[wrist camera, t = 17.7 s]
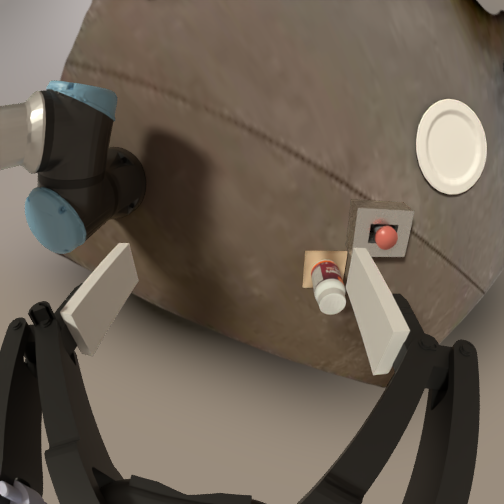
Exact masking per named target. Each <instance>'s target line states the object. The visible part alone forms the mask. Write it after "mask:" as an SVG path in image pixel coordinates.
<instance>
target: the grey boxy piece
mask: <svg viewBox="0 0 504 504" xmlns="http://www.w3.org/2000/svg"><path fill="white" fill-rule="evenodd" d="M413 215H414V211H413V210H412V209H411V208H410V207H409V206H408V205H406V204H405V203H404V202H392V201H376V200H358V199H351V202H350V212H349V221H348V229H347V237H346V247H347V249H348V251H349V253H350V255H351V257H352V254H353V248H366V249H367V251H368V252H369V254H370V256H371V257H404V256H405V252H406V248H407V244H408V239H409V235H410V230H411V225H412V220H413ZM371 224H387V225H388V226H391V227H392V228H393V229H394V230H395V231H396V232H397V235H398V239H397V242H396V244H395V245H394V246H393V247H392V248H390V249H388V250H383V249H381V248H379V247H378V245H377V244H376V242H375V234H376V233H375V232H370V226H371Z"/></svg>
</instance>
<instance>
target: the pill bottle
mask: <svg viewBox="0 0 504 504" xmlns="http://www.w3.org/2000/svg"><path fill="white" fill-rule="evenodd" d="M311 278H312V283H313V289H314V295H315V298H316V300H317V302H318V304H319V308H320V310H321V311H322V312H323V313H325V314H336V313H338V312H340V311H342V310H343V309H344V307H345V305H346V299H345V286H344V283H343V280H342V277H341V274H340V271H339V268H338V266H337V264H336V263H335V262H333V261H331V260H327V259H325V260H321V261H318V262H317V263H315V264H314V266H313V267H312V269H311Z"/></svg>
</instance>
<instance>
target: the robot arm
mask: <svg viewBox="0 0 504 504" xmlns="http://www.w3.org/2000/svg"><path fill="white" fill-rule="evenodd" d="M116 105H117V96H116V94H115V93H114V92H113V91H111V90H108V89H104V88H100V87H95V86H90V85H85V84H78V83H71V82H64V81H51V82H50V83H49V85H48V86H47V91H36V92H34V93H33V94H32V95H31V96H30V97H29V99H28V100H27V101H26V102H24V103H20V104H12V105H5V106H0V170H3V169H7V168H11V167H15V166H19V165H21V166H23V167H24V168H25V169H26V170H27V171H28V172H29V173H31V174H33V173H38V187H37V188H35V189H33V190H32V191H31V193H30V194H29V196H28V197H27V199H26V202H25V215H26V219H27V222H28V225H29V227H30V229H31V231H32V233H33V234H34V236H35V237H36V238H37V240H38V241H39V242H40V243H41V244H42V245H43V246H44V247H46V248H47V249H49V250H50V251H53V252H55V253H60V254H65V253H69V252H71V251H72V250H74V249H75V248H76V247H78V246H80V245H82V244H83V243H84V242H85V241H86V240H87V239H88V238H89V237H90V236H91V235H92V234H93V233H94V232H95V231H97V230H98V229H99V228H100V227H101V226H102V225H103V224H105V223H106V222H107V221H108V220H110V219H116V218H121V217H124V216H126V215H128V214H130V213H131V212H132V211H133V210H135V209H136V208H137V207H138V206H139V204H140V203H141V201H142V199H143V197H144V194H145V189H146V179H145V174H144V170H143V168H142V166H141V164H140V162H139V161H138V159H137V158H136V157H135V156H134V155H133V154H132V153H130V152H129V151H127V150H125V149H123V148H119V147H110V148H109V142H110V136H111V131H112V126H113V121H115V117H114V116H115V110H116ZM137 282H138V277H137V273H136V269H135V265H134V261H133V257H132V253H131V249H130V244H129V243H119V244H118V245H117V246H116V247H115V248H114V249H113V250H112V251H111V252H110V253H109V254H108V255H107V257H106V258H105V259H104V260H103V261H102V262H101V263H100V264H99V266H98V267H97V268H96V269H95V270H94V271H93V272H92V274H91V275H90V276H89V277H88V278H87V279H86V281H85V282H84V283H81V284H80V285H79V286H77V287H76V288H74V290H73V291H72V292H71V293H70V295H69V296H68V297H67V298H66V300H65V301H64V302H63V303H62V304H61V306H60V307H59V308H58V309H57V311H56V312H55V313H53V311H52V309H51V307H50V304H49V303H48V302H46V301H42V302H38V303H37V304H35V305H34V306H32V307H31V309H30V310H29V313H28V315H29V316H30V318H31V320H32V322H33V324H34V325H28V324H27V322H26V320H25V319H24V318H17V319H15V320H13V321H12V322H11V323H10V325H9V327H8V329H7V332H6V335H5V338H4V341H3V344H2V347H1V350H0V504H47V503H46V502H44V500H43V499H42V495H43V472H42V455H41V420H42V413H43V418H44V424H45V428H46V433H47V437H48V442H49V447H50V448H49V449H48V450H46V451H45V459H46V464H47V467H48V471H49V474H50V477H51V480H52V483H53V486H54V489H55V492H56V495H57V497H58V500H59V502H60V504H265V503H263V502H260V501H257V500H253V499H252V496H250V495H235V494H224V493H216V494H201V495H186V494H183V493H181V492H178V491H176V490H174V489H172V488H170V487H168V486H165V485H163V484H161V483H159V482H157V481H153V480H149V479H145V478H141V477H138V476H135V475H131V479H123V477H122V476H121V475H120V473H119V472H118V471H117V469H116V468H115V467H114V465H113V464H112V462H111V459H110V457H109V455H108V452H107V450H106V448H105V445H104V443H103V440H102V438H101V435H100V433H99V430H98V427H97V424H96V422H95V419H94V416H93V413H92V410H91V407H90V404H89V400H88V397H87V394H86V391H85V387H84V383H83V379H82V376H81V372H80V368H79V363H78V359H77V355H76V353H75V351H74V350H75V348H76V347H77V346H78V348H79V350H80V352H81V353H82V354H85V355H89V356H94V354H95V352H96V350H97V349H98V347H99V345H100V343H101V341H102V340H103V338H104V336H105V334H106V333H107V331H108V329H109V327H110V326H111V324H112V323H113V321H114V319H115V318H116V316H117V314H118V313H119V311H120V309H121V308H122V306H123V305H124V303H125V301H126V299H127V298H128V297H129V295H130V293H131V292H132V290H133V289H134V287H135V286H136V284H137ZM346 290H347V293H348V296H349V298H350V301H351V304H352V307H353V310H354V313H355V316H356V319H357V323H358V326H359V329H360V332H361V335H362V338H363V342H364V345H365V348H366V352H367V355H368V359H369V362H370V366H371V369H372V373H373V375H379V374H388V373H389V371H390V369H391V367H392V366H393V367H394V370H395V373H394V375H393V377H392V378H391V380H390V382H389V383H388V385H387V387H386V389H385V391H384V393H383V394H382V396H381V398H380V399H379V401H378V402H377V404H376V406H375V407H374V409H373V410H372V412H371V413H370V415H369V416H368V418H367V419H366V421H365V422H364V424H363V425H362V427H361V428H360V430H359V431H358V432H357V434H356V436H355V437H354V438H353V440H352V441H351V442H350V444H349V445H348V446H347V448H346V449H345V450H344V452H343V453H342V454H341V455H340V456H339V458H338V459H337V460H336V461H335V463H334V464H333V465H332V466H331V467H330V469H329V470H328V471H327V472H326V473H325V474H324V476H323V477H322V478H321V479H320V480H319V481H318V482H317V484H316V485H315V486H314V487H313V488H312V489H311V490H310V491H309V492H308V493H307V494H306V495H305V496H304V497H303V498H302V499H301V500H300V501H299V502H298V503H297V504H361V503H362V500H363V497H364V495H365V494H366V492H367V491H368V489H369V488H370V487H371V485H372V483H373V482H374V481H375V479H376V478H377V477H378V475H379V473H380V472H381V470H382V469H383V467H384V466H385V464H386V463H387V461H388V459H389V458H390V456H391V454H392V453H393V451H394V449H395V448H396V446H397V444H398V442H399V441H400V439H401V437H402V435H403V433H404V431H405V429H406V428H407V426H408V424H409V421H410V420H411V418H412V415H413V414H414V411H415V409H416V407H417V405H418V403H419V401H420V398H421V396H422V394H423V391H424V389H425V388H428V389H429V392H428V400H427V407H426V413H425V419H424V425H423V430H422V435H421V440H420V445H419V449H418V453H417V457H416V461H415V465H414V468H413V472H412V475H411V479H410V482H409V485H408V488H407V491H406V494H405V497H404V500H403V503H402V504H467V503H468V499H469V495H470V491H471V486H472V481H473V475H474V469H475V461H476V455H477V444H478V433H479V410H480V403H479V402H480V401H479V400H480V398H479V397H480V395H479V371H478V359H477V352H476V349H475V347H474V346H473V344H471V343H470V342H468V341H466V340H458V341H456V343H455V344H454V345H453V347H447V346H441V345H439V344H438V342H437V341H436V339H435V338H434V337H432V336H430V335H428V334H425V333H424V331H423V329H422V327H421V326H420V324H419V322H418V320H417V318H416V316H415V314H414V312H413V310H412V309H411V307H410V305H409V303H408V301H407V300H406V299H405V298H404V297H403V296H402V295H401V294H391V292H390V290H389V288H388V286H387V284H386V282H385V281H384V279H383V277H382V275H381V273H380V271H379V270H378V268H377V266H376V264H375V263H374V261H373V259H372V257H371V256H370V254H369V252H368V251H367V249H366V248H353V254H352V259H351V264H350V269H349V274H348V279H347V284H346ZM24 357H25V358H26V359H25V362H24Z"/></svg>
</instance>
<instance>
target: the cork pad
mask: <svg viewBox="0 0 504 504" xmlns="http://www.w3.org/2000/svg"><path fill="white" fill-rule="evenodd" d="M325 259H327V260H331V261H333V262H335V263H336V264H337V266H338V268H339V271H340V274H341V277H342V280H343V277H344V271H345V265H346V259H347V251H305V263H304V275H303V288H313V283H312V278H311V269H312V267H313V266H314V264H315V263H317V262H318V261H321V260H325Z"/></svg>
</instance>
